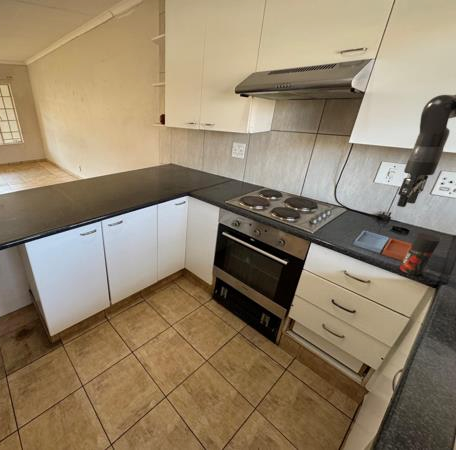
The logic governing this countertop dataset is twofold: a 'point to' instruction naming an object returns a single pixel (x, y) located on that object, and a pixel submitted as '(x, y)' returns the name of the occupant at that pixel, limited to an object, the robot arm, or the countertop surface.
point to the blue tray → (371, 241)
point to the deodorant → (419, 253)
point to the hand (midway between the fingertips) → (405, 204)
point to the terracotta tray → (396, 249)
